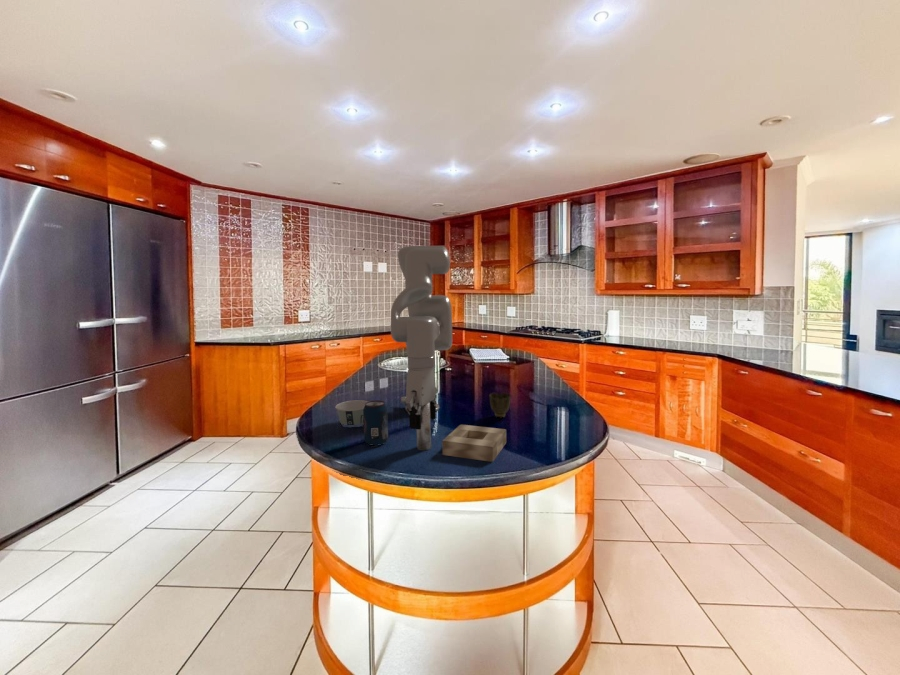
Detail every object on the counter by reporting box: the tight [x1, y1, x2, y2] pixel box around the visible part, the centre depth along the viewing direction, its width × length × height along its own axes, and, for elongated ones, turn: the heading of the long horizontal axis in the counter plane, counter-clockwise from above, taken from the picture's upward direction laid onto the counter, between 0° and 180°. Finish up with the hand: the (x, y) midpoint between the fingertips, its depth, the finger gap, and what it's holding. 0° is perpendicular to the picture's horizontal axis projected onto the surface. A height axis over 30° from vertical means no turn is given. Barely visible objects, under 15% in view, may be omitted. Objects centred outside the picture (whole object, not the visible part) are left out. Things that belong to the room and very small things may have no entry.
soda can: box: [363, 400, 389, 445], centre depth 119 cm, size 7×7×12 cm
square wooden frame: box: [441, 424, 507, 463], centre depth 113 cm, size 14×14×4 cm
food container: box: [334, 399, 369, 425], centre depth 138 cm, size 12×12×6 cm
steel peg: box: [415, 402, 432, 451], centre depth 114 cm, size 4×4×14 cm
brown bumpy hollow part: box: [488, 392, 511, 419], centre depth 141 cm, size 8×7×8 cm
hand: (423, 423), depth 114 cm, fingers open, 9 cm apart
